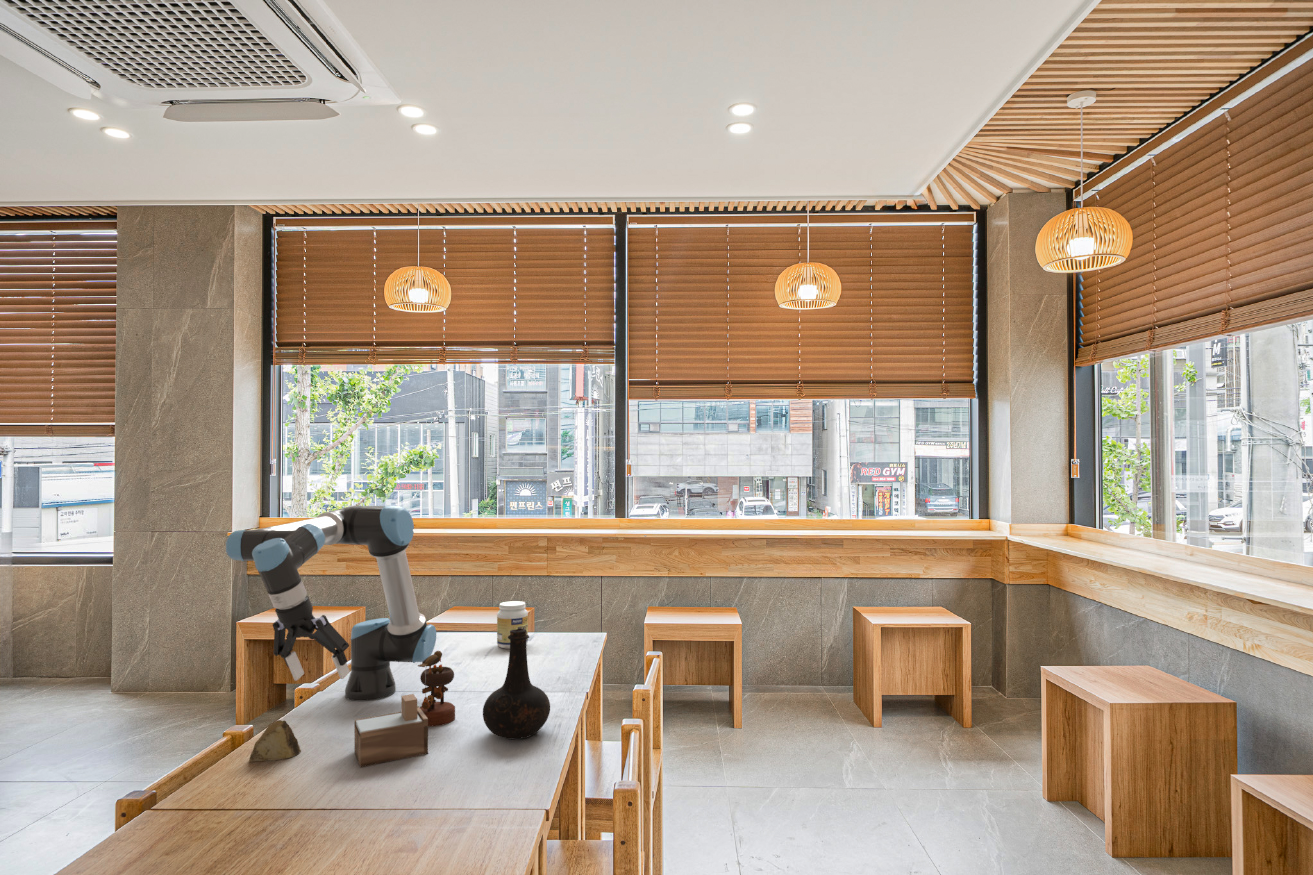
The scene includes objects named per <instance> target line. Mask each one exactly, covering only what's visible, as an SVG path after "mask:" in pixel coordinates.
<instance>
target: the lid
mask: <svg viewBox="0 0 1313 875" xmlns="http://www.w3.org/2000/svg"><path fill="white" fill-rule="evenodd" d="M400 698H401V704H400V705H401V710H400V712H401V713H397V714H392V715H386V716H380V717H374V718H369V719H363V720H357V721H356V726H357V728H358V730H359V733H360V732H365V731H371V730H376V729H382V728H387V727H393V726H398V725H404V724H409V723H415V722H420V721H422V720H421V718H420V717H419V715H418V714H417V706H418V698H417V696H415V694H414V693H411V694H406V695H401V697H400Z"/></svg>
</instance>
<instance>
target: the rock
mask: <svg viewBox="0 0 1313 875" xmlns="http://www.w3.org/2000/svg"><path fill="white" fill-rule="evenodd" d="M300 748H301V747H300V745H299V741H298V739H297V737H296V736H295V734H294V732H293V729H292V728H291V727H290V725H289V724H288V723H287V721H286V720H282V719H280V720H279V719H278V720H275V721H273V722H272V723H270V724H269V725H267V727H266V729H265V730H264V731H263V733H262V734H261V736H260V737H259V738H258V739H257V740H256V742H255V743H254V746H253V749H252V751H251V753H250V756H249V761H248V762H250V763H251V762H252V763H253V762H266V761H276V760H277V761H278V760H284V759H285V760H286V759H290V758H293V757H295V756H297V755H299V754H300V753H301V752H302V751H301V749H300Z"/></svg>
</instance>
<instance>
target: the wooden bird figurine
mask: <svg viewBox="0 0 1313 875" xmlns="http://www.w3.org/2000/svg"><path fill="white" fill-rule="evenodd" d="M442 657H443V653H442V651H441V650H435V651H434V653H433V654H431V656H429V657H428V658H426V659H425V660H424V661H423V662H421V663H420V664H418V665H417V667H419V668H420V667H421V668H425V669H424V670H422V672H421V674H420V678H419V679H420V682H421V684H423V685H424V686H425V687H424V688H422V689H421V694H424V695H425V696H424V698H423V700H422V703H421V706H419V707H420V709H421V710H422V711H423V713H424V714H425V715H426V717H427V718H428V727H439V726H444V725H448V724H450V723H452V722H453V721H455V719H456V707H455V705H454V704H453V703H451V702H449V701H445V693H446V692H447V691H449V689H448V687H447V685H449V684H450V683H451V682H453V680H454V678H455V673H454V672H455V671H454V670H453V669H452V668H451V667H449V666H443V664H442V663H441V662H442V661H441V660H442ZM439 662H440V663H441V664H439V665H438V666H437V664H438V663H439ZM427 667H428V668H427ZM427 693H430V694H429V695H428V696H427ZM436 699H437V700H440V701H437V700H436Z"/></svg>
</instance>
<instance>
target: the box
mask: <svg viewBox="0 0 1313 875" xmlns="http://www.w3.org/2000/svg"><path fill="white" fill-rule="evenodd" d="M420 707H421V706H419V705H417V714H418V715H419V717H420V718H421V720H422V721H420V722H415V723H409V724H404V725H398V726H393V727H387V728H382V729H376V730H371V731H365V732H360V733H359V730H358V728H357V726H356V721H357V720H363V719H369V718H374V717H380V716H386V715H392V714H397V713H401V711H396V712H391V713H386V714H380V715H374V716H368V717H361V718H355V719H354V738H353V739H354V746H353V747H354V754H355V757H356V759H357V762H358V764H359V767H360V768H364V767H369V766H375V765H378V764H384V763H390V762H395V761H398V760H404V759H408V758H414V757H418V756H423V755H428V754H429V726H428V718H427V717H426V715H425V714H424V713H423V711H422V710H421V709H420Z"/></svg>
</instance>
